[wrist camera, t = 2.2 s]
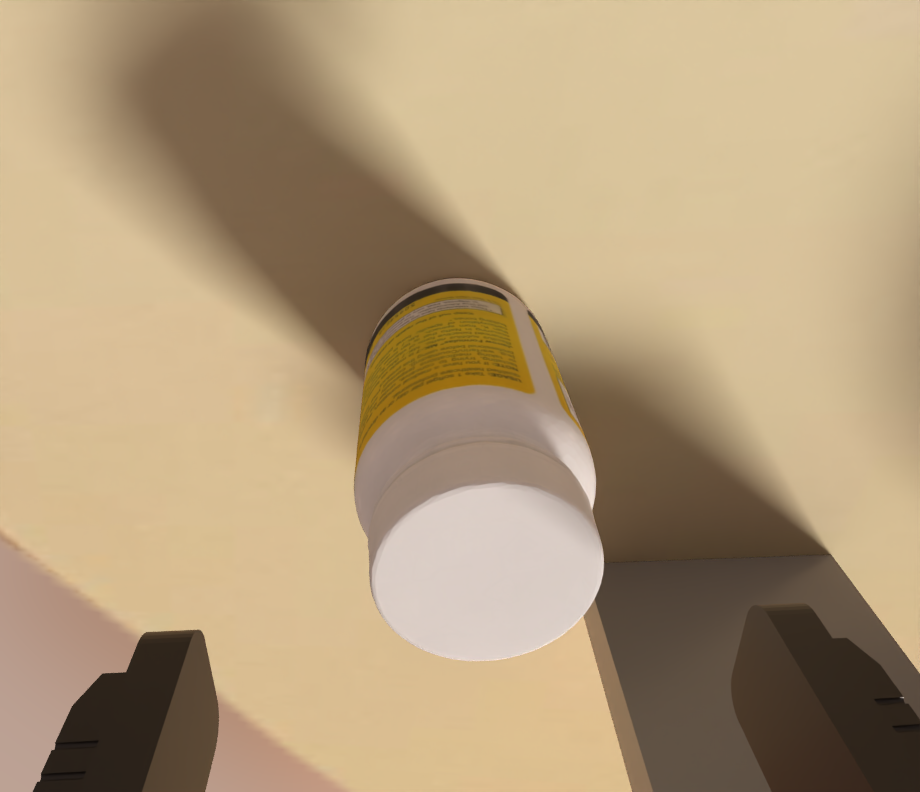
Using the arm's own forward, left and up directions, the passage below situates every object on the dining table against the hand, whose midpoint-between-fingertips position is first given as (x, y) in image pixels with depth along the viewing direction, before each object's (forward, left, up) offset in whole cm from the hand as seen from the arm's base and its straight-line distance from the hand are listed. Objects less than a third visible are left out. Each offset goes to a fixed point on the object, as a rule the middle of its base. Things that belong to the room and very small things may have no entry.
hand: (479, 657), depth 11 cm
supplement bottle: (0, 0, -10) cm, 10 cm away
